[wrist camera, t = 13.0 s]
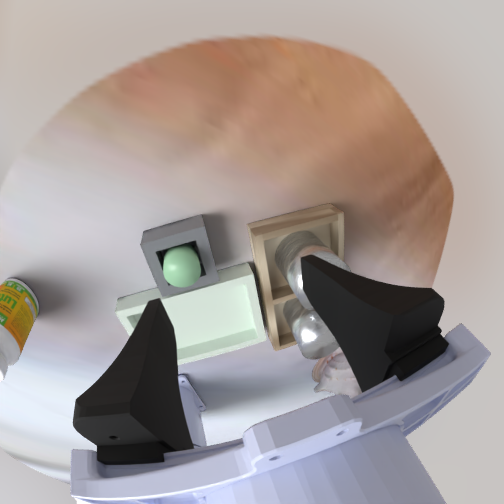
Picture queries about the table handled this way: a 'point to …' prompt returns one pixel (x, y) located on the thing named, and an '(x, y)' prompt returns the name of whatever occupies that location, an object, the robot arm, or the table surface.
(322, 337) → the billet
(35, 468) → the table surface
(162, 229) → the frame
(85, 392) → the robot arm
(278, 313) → the divided tray
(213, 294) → the pale green tray
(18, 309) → the supplement bottle
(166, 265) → the button
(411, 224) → the table surface
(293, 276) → the cylinder
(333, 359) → the seashell
